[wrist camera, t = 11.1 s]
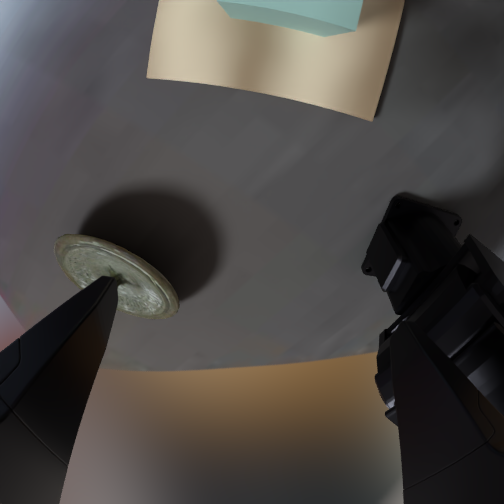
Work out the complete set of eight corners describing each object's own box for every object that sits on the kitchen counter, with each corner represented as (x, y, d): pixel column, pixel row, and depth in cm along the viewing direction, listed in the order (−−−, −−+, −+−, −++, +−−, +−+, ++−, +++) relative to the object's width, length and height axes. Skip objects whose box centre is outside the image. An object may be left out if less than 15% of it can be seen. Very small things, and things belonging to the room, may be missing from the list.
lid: (209, 250, 23) (198, 299, 19) (160, 326, 28) (148, 371, 24) (79, 184, 20) (42, 220, 16) (58, 275, 25) (33, 315, 21)
